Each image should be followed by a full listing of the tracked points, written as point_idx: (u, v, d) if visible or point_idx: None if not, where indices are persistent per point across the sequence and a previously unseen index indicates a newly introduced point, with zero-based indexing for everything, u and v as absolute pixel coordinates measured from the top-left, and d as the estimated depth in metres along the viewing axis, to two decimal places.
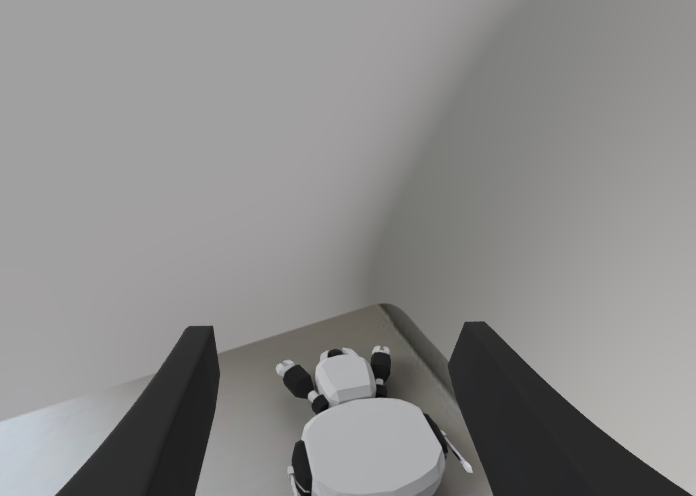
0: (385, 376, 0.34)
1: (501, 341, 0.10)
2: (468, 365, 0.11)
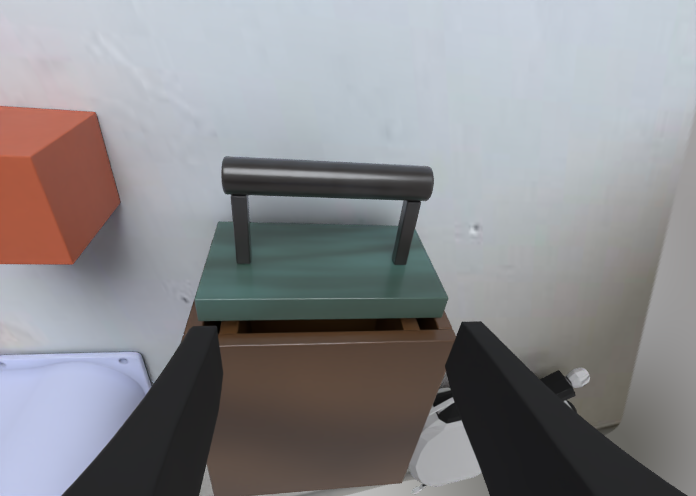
0: None
1: (498, 341, 0.10)
2: (465, 365, 0.11)
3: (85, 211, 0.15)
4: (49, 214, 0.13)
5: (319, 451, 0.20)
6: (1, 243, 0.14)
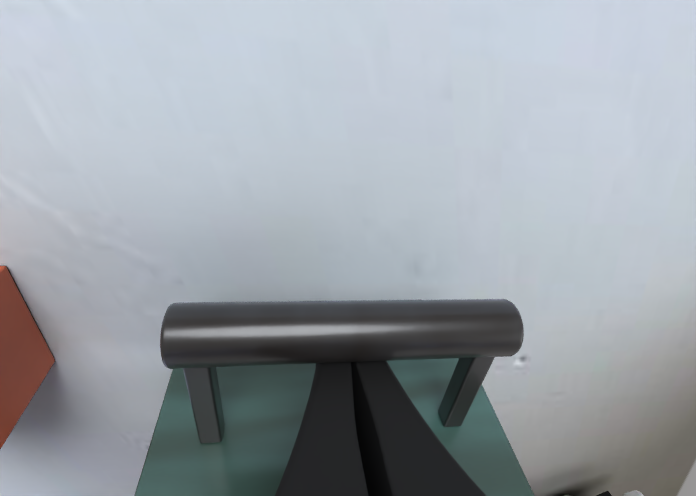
0: None
1: None
2: None
3: None
4: None
5: None
6: None
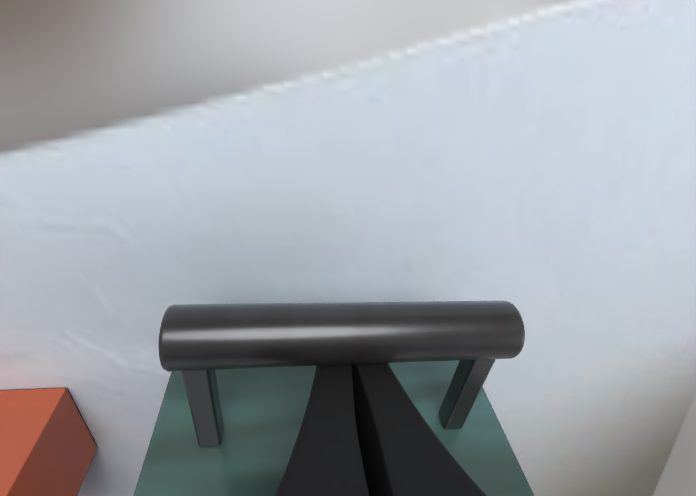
0: None
1: None
2: None
3: None
4: None
5: None
6: None
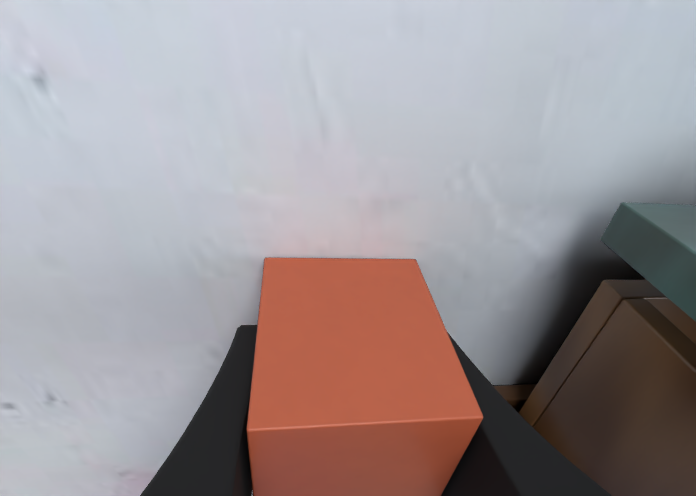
0: None
1: (452, 342, 0.10)
2: None
3: None
4: (450, 471, 0.08)
5: None
6: None
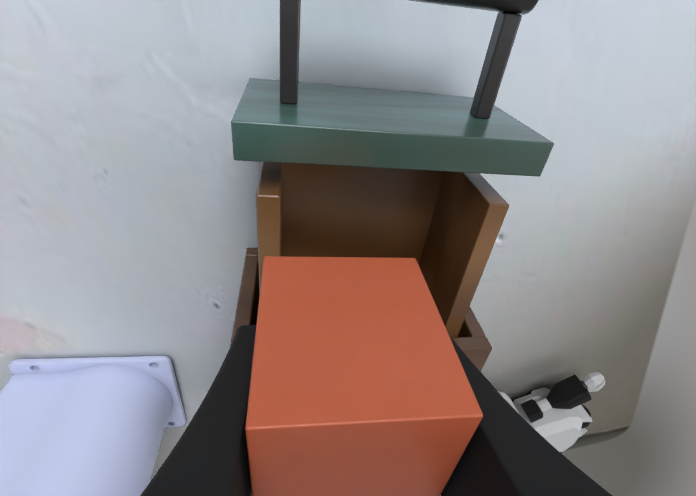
0: None
1: None
2: None
3: None
4: (450, 470, 0.08)
5: None
6: None
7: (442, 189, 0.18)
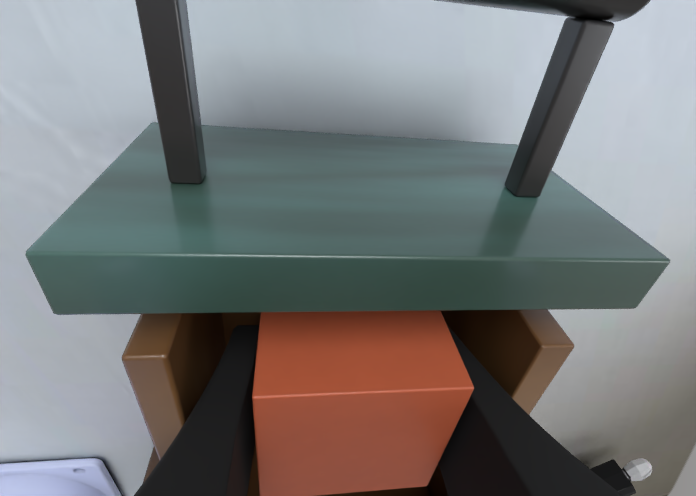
0: None
1: (458, 342, 0.10)
2: None
3: None
4: (443, 443, 0.09)
5: None
6: (355, 476, 0.09)
7: None
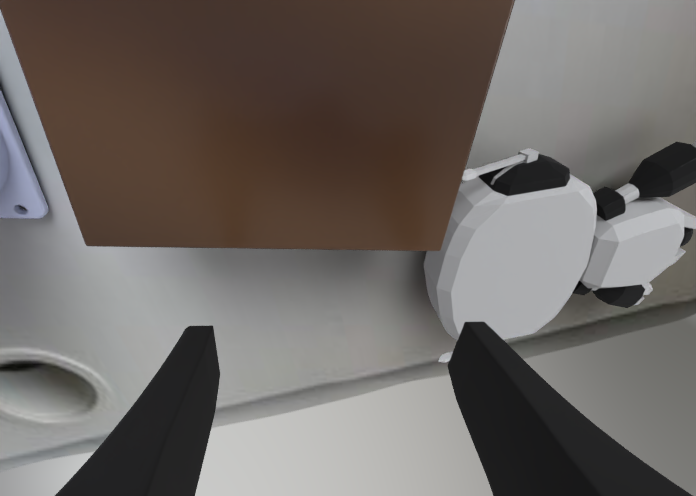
0: (598, 295, 0.23)
1: (501, 341, 0.10)
2: (468, 365, 0.11)
3: None
4: None
5: (281, 99, 0.10)
6: None
7: None
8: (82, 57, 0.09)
